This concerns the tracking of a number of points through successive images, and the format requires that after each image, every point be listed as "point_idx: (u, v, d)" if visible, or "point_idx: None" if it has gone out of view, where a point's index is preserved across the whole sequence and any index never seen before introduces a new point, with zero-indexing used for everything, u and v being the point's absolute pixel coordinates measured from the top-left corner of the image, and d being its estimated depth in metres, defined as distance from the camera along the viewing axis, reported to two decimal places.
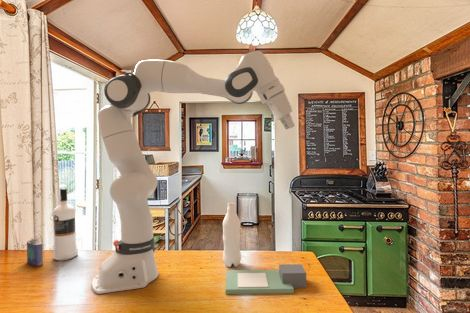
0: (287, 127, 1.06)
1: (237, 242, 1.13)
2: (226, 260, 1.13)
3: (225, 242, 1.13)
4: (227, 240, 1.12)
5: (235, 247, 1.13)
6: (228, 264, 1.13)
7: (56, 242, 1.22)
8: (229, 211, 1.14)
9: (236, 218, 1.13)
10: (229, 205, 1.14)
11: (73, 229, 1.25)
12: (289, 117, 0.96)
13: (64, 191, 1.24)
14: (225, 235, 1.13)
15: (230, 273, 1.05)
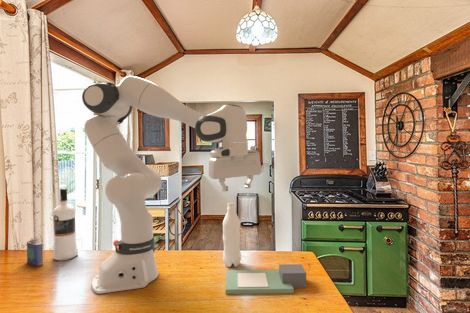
0: (246, 186, 1.05)
1: (237, 242, 1.13)
2: (226, 260, 1.13)
3: (225, 242, 1.13)
4: (227, 240, 1.12)
5: (235, 247, 1.13)
6: (228, 264, 1.13)
7: (56, 242, 1.22)
8: (229, 211, 1.14)
9: (236, 218, 1.13)
10: (229, 205, 1.14)
11: (73, 229, 1.25)
12: (221, 181, 0.99)
13: (64, 191, 1.24)
14: (225, 235, 1.13)
15: (230, 273, 1.05)
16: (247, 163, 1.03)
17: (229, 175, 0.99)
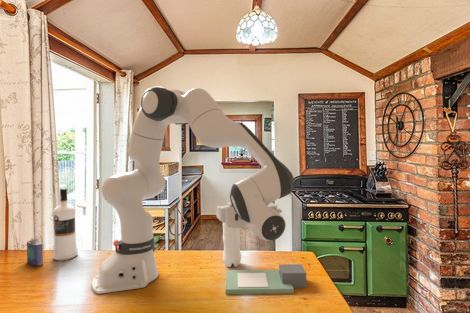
0: None
1: (237, 242, 1.13)
2: (226, 260, 1.13)
3: (225, 242, 1.13)
4: (227, 240, 1.12)
5: (235, 247, 1.13)
6: (228, 264, 1.13)
7: (56, 242, 1.22)
8: None
9: None
10: None
11: (73, 229, 1.25)
12: None
13: (64, 191, 1.24)
14: (225, 235, 1.13)
15: (230, 273, 1.05)
16: None
17: None
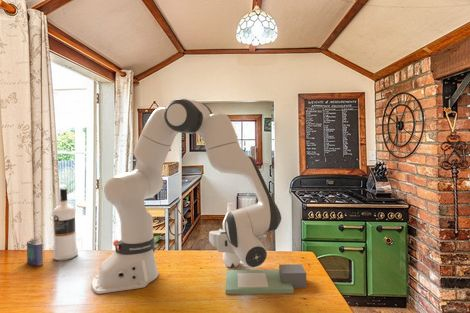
0: None
1: None
2: (226, 260, 1.13)
3: None
4: None
5: None
6: (228, 264, 1.13)
7: (56, 242, 1.22)
8: (229, 211, 1.14)
9: None
10: (229, 205, 1.14)
11: (73, 229, 1.25)
12: None
13: (64, 191, 1.24)
14: None
15: (230, 273, 1.05)
16: None
17: None
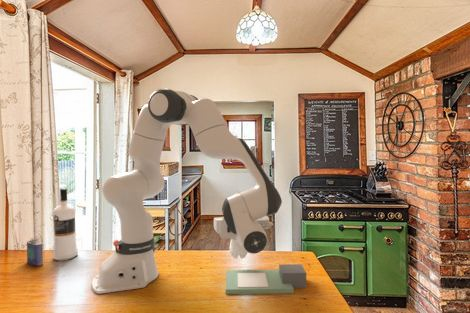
0: None
1: None
2: (232, 251, 1.09)
3: None
4: None
5: None
6: (234, 255, 1.09)
7: (56, 242, 1.22)
8: None
9: None
10: None
11: (73, 229, 1.25)
12: None
13: (64, 191, 1.24)
14: None
15: (230, 273, 1.05)
16: None
17: None
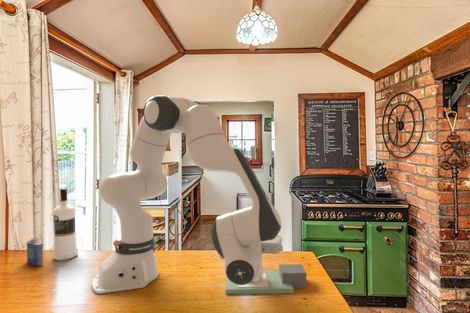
0: None
1: None
2: None
3: None
4: None
5: None
6: None
7: (56, 242, 1.22)
8: None
9: None
10: None
11: (73, 229, 1.25)
12: None
13: (64, 191, 1.24)
14: None
15: None
16: None
17: None
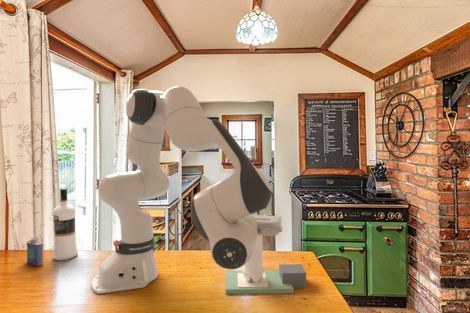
0: None
1: (256, 254, 0.96)
2: (244, 273, 0.98)
3: None
4: None
5: (254, 259, 0.97)
6: (246, 278, 0.97)
7: (56, 242, 1.22)
8: None
9: None
10: None
11: (73, 229, 1.25)
12: None
13: (64, 191, 1.24)
14: None
15: (230, 273, 1.05)
16: None
17: None
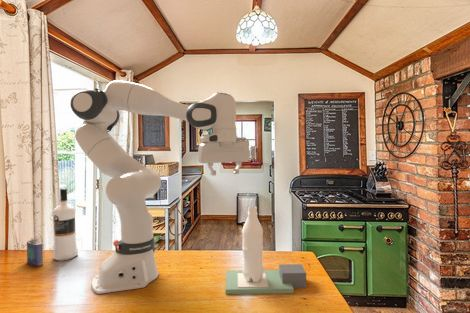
0: (234, 172, 1.10)
1: (256, 254, 0.96)
2: (244, 272, 0.98)
3: (243, 252, 0.98)
4: (245, 250, 0.97)
5: (254, 259, 0.97)
6: (246, 278, 0.97)
7: (56, 242, 1.22)
8: (249, 216, 0.98)
9: (256, 225, 0.96)
10: (249, 209, 0.98)
11: (73, 229, 1.25)
12: (209, 166, 1.04)
13: (64, 191, 1.24)
14: (243, 243, 0.98)
15: (230, 273, 1.05)
16: (235, 150, 1.08)
17: (217, 160, 1.04)
